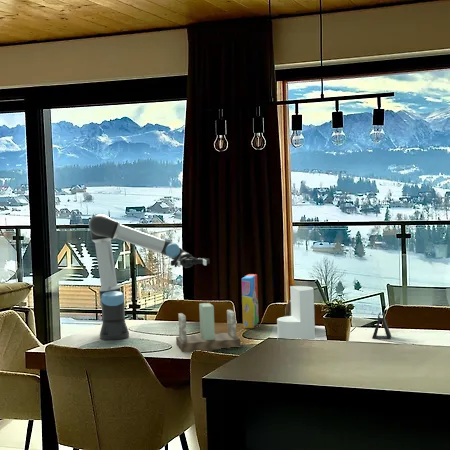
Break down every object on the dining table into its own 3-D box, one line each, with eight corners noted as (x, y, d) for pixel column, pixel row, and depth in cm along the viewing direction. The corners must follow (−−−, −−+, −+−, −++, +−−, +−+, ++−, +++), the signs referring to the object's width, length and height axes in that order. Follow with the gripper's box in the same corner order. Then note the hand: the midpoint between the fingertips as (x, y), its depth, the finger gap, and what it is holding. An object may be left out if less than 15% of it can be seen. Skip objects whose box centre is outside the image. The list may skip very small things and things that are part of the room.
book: (204, 340, 356) (203, 306, 355) (200, 336, 367) (199, 303, 367) (214, 339, 357) (213, 306, 357) (210, 335, 368) (209, 302, 368)
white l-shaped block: (309, 343, 360) (307, 285, 358) (319, 350, 342) (317, 289, 341) (274, 345, 357) (272, 287, 356) (282, 353, 340) (280, 291, 339)
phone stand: (372, 338, 365) (371, 314, 365) (372, 336, 371) (372, 312, 371) (390, 339, 363) (390, 314, 362) (391, 336, 369) (390, 312, 368)
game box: (252, 328, 403) (251, 278, 402) (242, 328, 404) (241, 278, 403) (258, 321, 424) (257, 273, 422) (249, 321, 425) (247, 273, 424)
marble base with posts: (182, 352, 351) (180, 318, 350) (176, 344, 368) (175, 312, 367) (240, 347, 356) (239, 313, 356) (232, 340, 374) (231, 308, 373)
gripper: (209, 265, 406) (217, 269, 385) (163, 268, 401) (168, 272, 380) (208, 252, 406) (216, 254, 385) (162, 254, 401) (168, 257, 380)
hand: (192, 263), depth 383 cm, fingers open, 13 cm apart
